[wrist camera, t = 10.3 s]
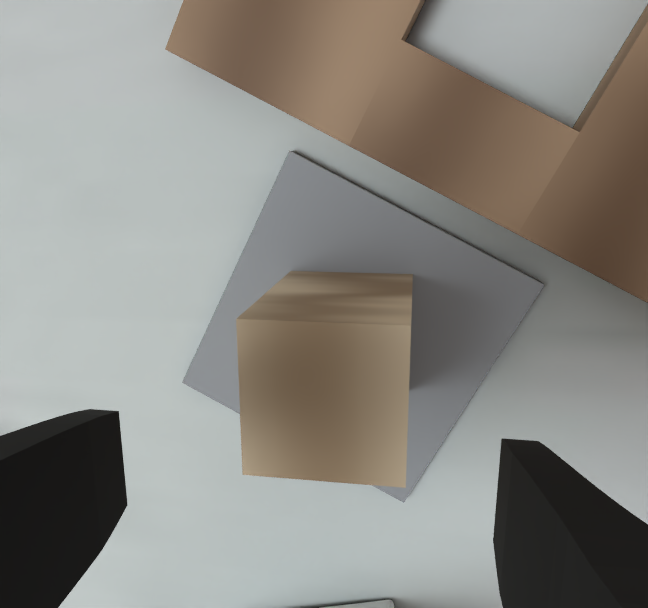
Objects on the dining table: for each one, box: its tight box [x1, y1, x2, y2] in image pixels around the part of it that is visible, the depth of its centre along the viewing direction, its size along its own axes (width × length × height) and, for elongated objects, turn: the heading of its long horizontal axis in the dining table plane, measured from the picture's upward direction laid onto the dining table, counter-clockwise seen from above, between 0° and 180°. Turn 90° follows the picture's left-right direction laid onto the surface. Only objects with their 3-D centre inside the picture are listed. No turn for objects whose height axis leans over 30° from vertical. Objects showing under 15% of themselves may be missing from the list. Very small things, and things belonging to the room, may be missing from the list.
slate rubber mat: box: [182, 151, 544, 502], centre depth 19 cm, size 9×9×1 cm
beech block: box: [236, 271, 413, 488], centre depth 16 cm, size 4×4×6 cm
